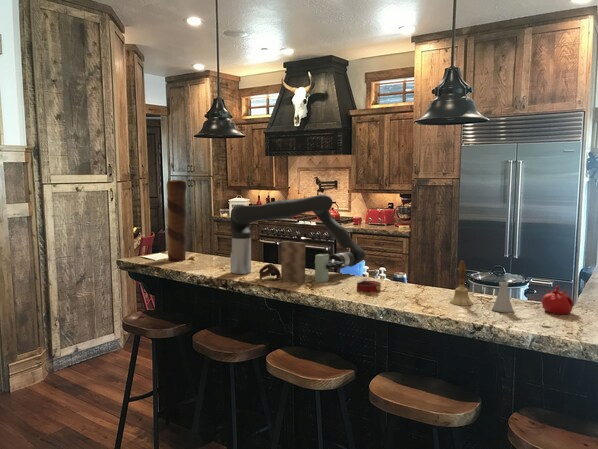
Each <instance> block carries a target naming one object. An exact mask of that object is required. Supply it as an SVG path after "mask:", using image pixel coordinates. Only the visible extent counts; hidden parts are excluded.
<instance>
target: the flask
mask: <svg viewBox="0 0 598 449" xmlns="http://www.w3.org/2000/svg"><path fill="white" fill-rule="evenodd" d="M498 286H499V290H498V293H497V296H496V298H495V301H494V303H493V305H492V307H491V311H494V312H498V313H505V314H509V313H514V308H513V306H512V303H511V300H510V296H509V291H508V286H509V282H505V281H499V282H498Z"/></svg>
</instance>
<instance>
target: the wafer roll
mask: <svg viewBox="0 0 598 449" xmlns="http://www.w3.org/2000/svg"><path fill="white" fill-rule="evenodd" d="M186 193H187V181H186V180H185V179H172V180H167V183H166V196H167V197H166V201H167V202H166V203H167V204H166V205H167V240H168V243H167V244H168V246H167V247H168V248H167V257H168V260H169V261H171V262H182V261H186V255H187V254H186V253H187V252H186V248H187V247H186V245H187V241H186V240H187V239H186V238H187V236H186V233H187V232H186V231H187V230H186V228H187V227H186V226H187V208H186V206H187V201H186V199H187V198H186V195H187V194H186Z"/></svg>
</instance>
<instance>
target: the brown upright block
mask: <svg viewBox="0 0 598 449" xmlns="http://www.w3.org/2000/svg"><path fill="white" fill-rule="evenodd" d="M280 242H281V244H280V245H281V247H280V248H281V253H280V254H281V258H280V260H281V261H280V262H281V267H280V268H281V269H280V274H281V280H280V281H281V282H288V283H294V284H301V285H305V284H306V283H311V282H313V281H314V275H313V274H307V273H306V242H300V241H299V242H296V241H287V240H281V241H280Z"/></svg>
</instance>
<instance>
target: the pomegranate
mask: <svg viewBox="0 0 598 449" xmlns="http://www.w3.org/2000/svg"><path fill="white" fill-rule="evenodd" d="M559 289H560V286H558V285H556V286H555V288H553V290H549V289H547V290H545V291H546V292H548V293H546V294H544V295H543V296H542V299H541V305H542V308H543V310H544V311H546V312H548V313H549V314H553V315H568V314H570V313H571V312H572V311H573V308H574V300H573V299H572V298H571V297H570V296H569V295H568V291H565V290H562V291H560V290H559Z"/></svg>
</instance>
